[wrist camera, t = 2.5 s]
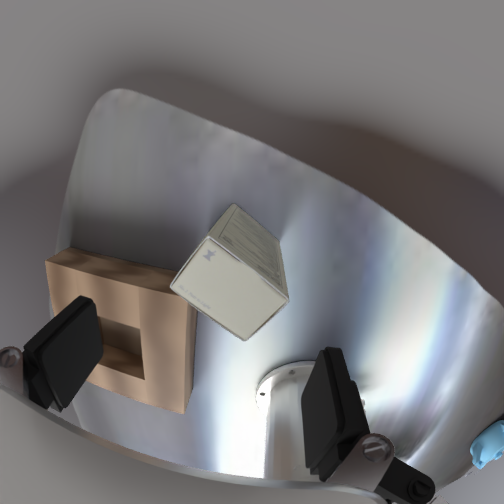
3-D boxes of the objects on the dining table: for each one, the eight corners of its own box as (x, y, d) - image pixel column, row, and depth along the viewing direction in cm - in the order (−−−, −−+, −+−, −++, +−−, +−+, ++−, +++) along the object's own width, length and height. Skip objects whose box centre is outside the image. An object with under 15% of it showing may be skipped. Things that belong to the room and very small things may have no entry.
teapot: (464, 442, 41) (475, 470, 31) (506, 409, 37) (521, 433, 27) (468, 453, 44) (478, 476, 34) (505, 424, 40) (517, 445, 30)
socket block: (200, 276, 29) (187, 297, 24) (192, 388, 35) (184, 414, 30) (69, 247, 29) (45, 260, 24) (86, 354, 35) (70, 373, 30)
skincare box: (207, 234, 27) (162, 286, 16) (234, 200, 26) (205, 231, 15) (254, 272, 28) (243, 346, 17) (283, 241, 27) (292, 301, 16)
